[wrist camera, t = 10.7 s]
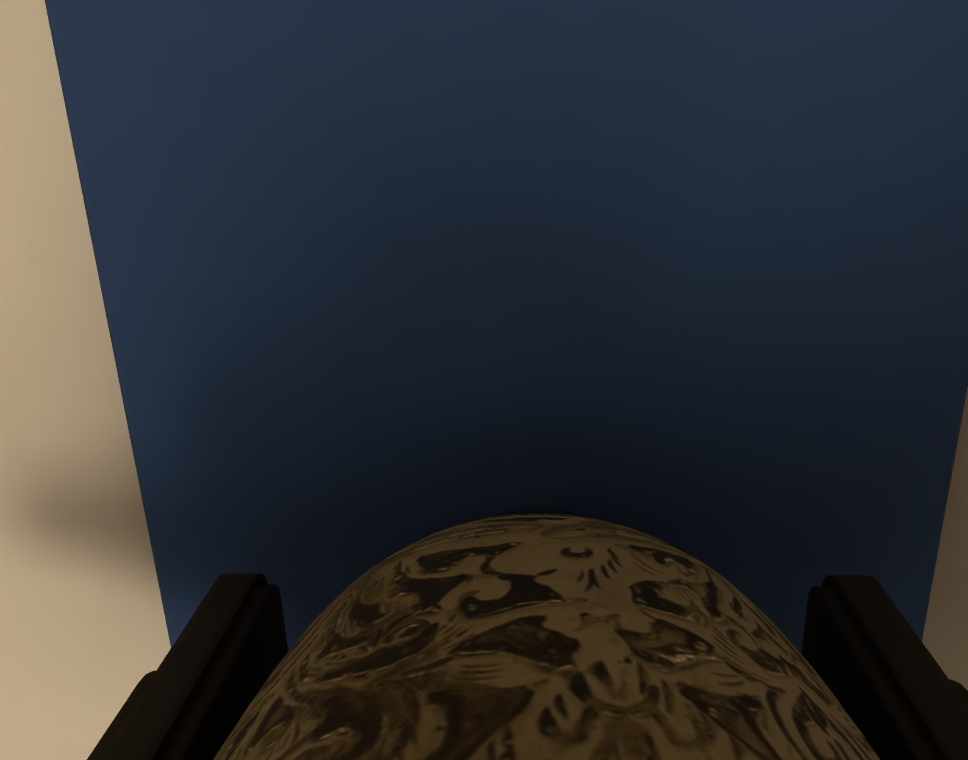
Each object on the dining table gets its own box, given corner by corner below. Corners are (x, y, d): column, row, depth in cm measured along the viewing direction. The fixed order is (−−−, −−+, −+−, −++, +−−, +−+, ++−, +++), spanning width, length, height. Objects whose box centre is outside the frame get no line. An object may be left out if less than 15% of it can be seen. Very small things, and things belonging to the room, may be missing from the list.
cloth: (1069, -283, 9) (1094, -300, 8) (838, 1047, 16) (845, 1070, 16) (19, -219, 9) (-3, -232, 9) (254, 1025, 17) (248, 1047, 16)
